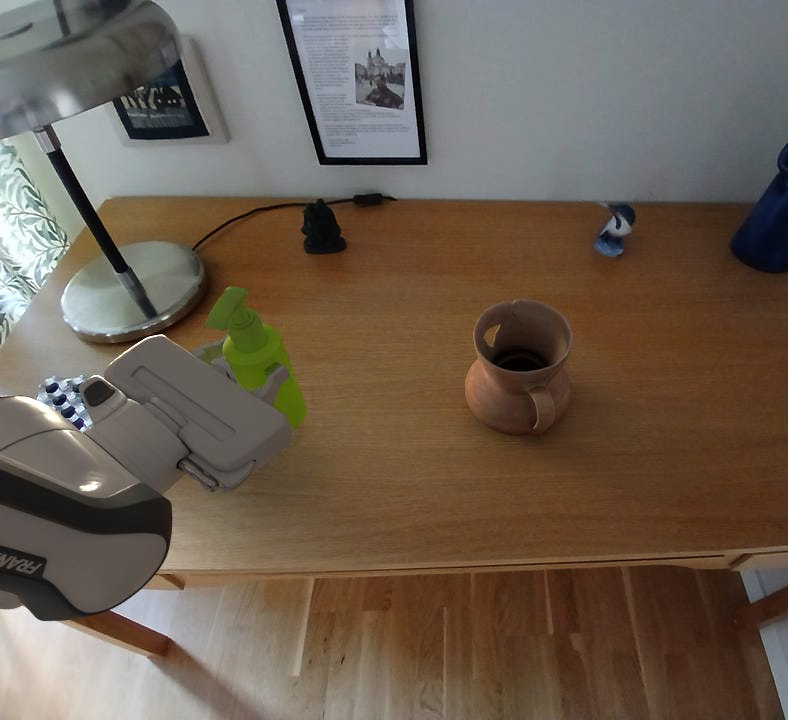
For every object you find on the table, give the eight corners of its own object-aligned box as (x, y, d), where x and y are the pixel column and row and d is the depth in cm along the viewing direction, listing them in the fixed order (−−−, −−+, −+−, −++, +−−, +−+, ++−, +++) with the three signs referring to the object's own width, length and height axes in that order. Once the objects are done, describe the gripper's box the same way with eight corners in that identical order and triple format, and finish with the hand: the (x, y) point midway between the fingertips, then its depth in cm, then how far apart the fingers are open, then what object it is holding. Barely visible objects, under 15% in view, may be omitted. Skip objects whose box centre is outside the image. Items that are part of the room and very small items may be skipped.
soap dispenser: (245, 436, 66) (181, 320, 51) (269, 391, 71) (216, 271, 55) (292, 445, 66) (241, 329, 50) (313, 398, 70) (272, 279, 55)
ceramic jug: (452, 365, 82) (449, 295, 71) (545, 347, 85) (556, 277, 74) (483, 471, 71) (485, 408, 60) (589, 447, 73) (610, 382, 63)
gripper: (208, 484, 47) (324, 378, 54) (68, 376, 54) (188, 295, 61) (232, 516, 52) (336, 414, 59) (101, 413, 59) (208, 334, 66)
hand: (260, 353), depth 60 cm, fingers closed on soap dispenser, 6 cm apart
